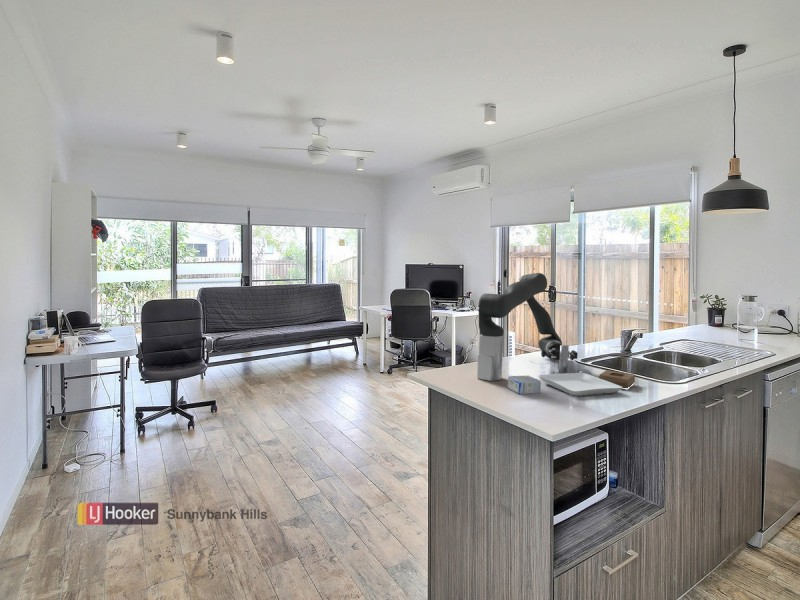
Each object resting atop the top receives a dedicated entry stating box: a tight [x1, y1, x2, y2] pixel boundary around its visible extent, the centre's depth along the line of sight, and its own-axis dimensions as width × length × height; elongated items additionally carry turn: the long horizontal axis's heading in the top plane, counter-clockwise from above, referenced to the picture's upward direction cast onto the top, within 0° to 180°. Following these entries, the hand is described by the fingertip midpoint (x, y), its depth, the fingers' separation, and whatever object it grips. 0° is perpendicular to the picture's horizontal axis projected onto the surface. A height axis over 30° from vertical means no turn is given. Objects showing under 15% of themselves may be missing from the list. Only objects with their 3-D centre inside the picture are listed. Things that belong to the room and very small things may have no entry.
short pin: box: [578, 368, 591, 375], centre depth 181 cm, size 3×3×5 cm
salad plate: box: [538, 372, 623, 397], centre depth 165 cm, size 21×21×3 cm
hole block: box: [598, 369, 636, 388], centre depth 171 cm, size 10×10×4 cm
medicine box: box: [507, 374, 542, 395], centre depth 161 cm, size 8×4×9 cm
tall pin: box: [558, 344, 570, 374], centre depth 180 cm, size 3×3×13 cm
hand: (561, 357), depth 184 cm, fingers open, 8 cm apart
